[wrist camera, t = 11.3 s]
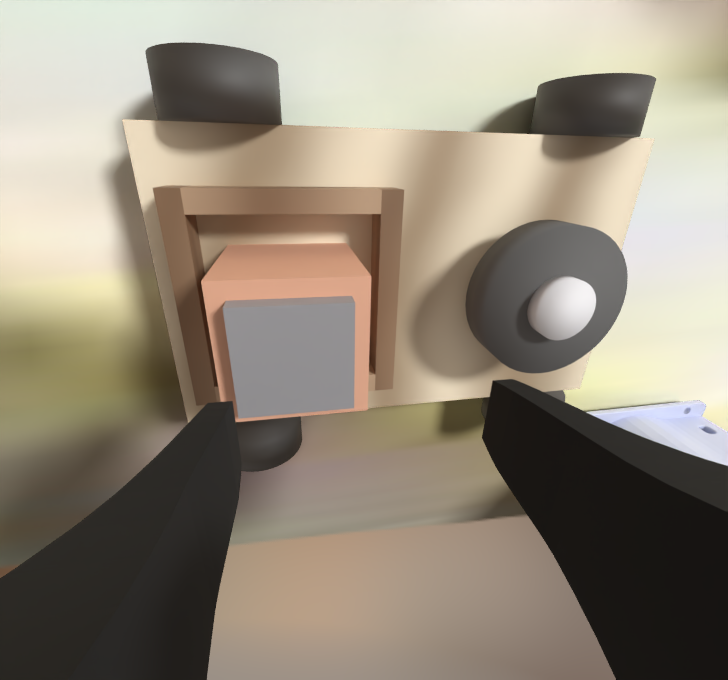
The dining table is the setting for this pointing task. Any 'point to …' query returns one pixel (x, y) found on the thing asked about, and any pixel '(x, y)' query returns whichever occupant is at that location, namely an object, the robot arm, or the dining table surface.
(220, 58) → the chassis
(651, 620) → the robot arm
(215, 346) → the orange rectangular block
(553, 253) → the spare wheel
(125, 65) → the dining table surface
